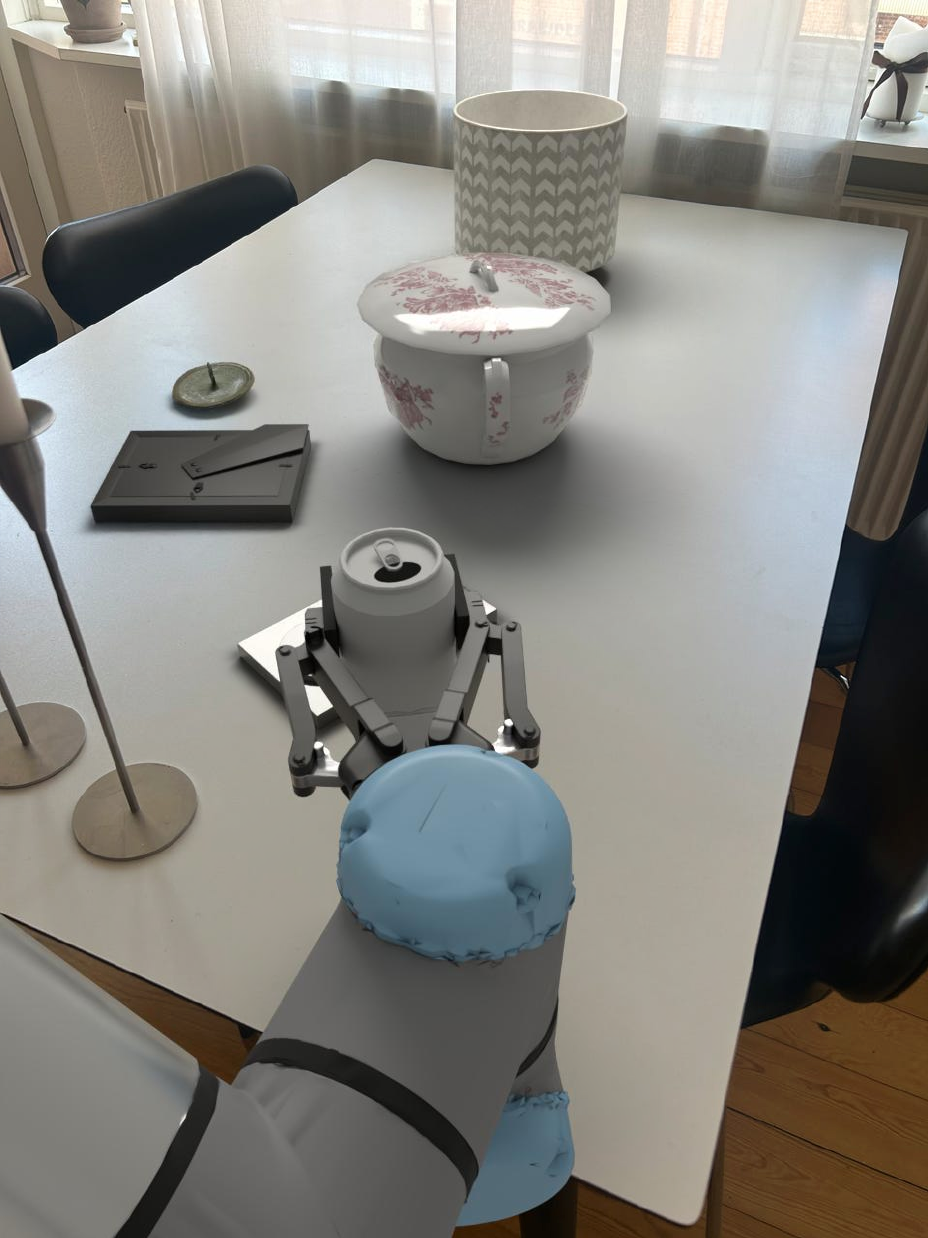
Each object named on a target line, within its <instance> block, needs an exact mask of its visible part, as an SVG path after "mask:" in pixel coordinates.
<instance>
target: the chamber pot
mask: <svg viewBox="0 0 928 1238" xmlns="http://www.w3.org/2000/svg"><path fill="white" fill-rule="evenodd" d="M611 303H612V302H611V295H610V293H609V292H608V291H607V290H606V289H605V288H604V287H603V286H602V284H601V283H600V282H599V281H598V280H597V279H596V278H595V277H593V276H591V275H589V274H588V273H587V272H585V273H584V272H582V271H580V270H578V269H576V268H574V267H572V266H568V265H565V264H562V263H558V262H555V261H551V260H548V259H545V258H538V257H531V256H524V255H517V254H511V253H464V254H456V253H455V254H443V255H437V256H432V257H428V258H423V259H418V260H413V261H409V262H406V263H404V264H401V265H398V266H396V267H394V268H391V269H388V270H385V271H383V272H382V273H381V274H379V275H377V276H376V277H375V278H374V279H373V280H371V281H370V282H369V283H367V284H366V285H365V286H364V287H363V289H362V291H361V293H360V295H359V297H358V300H357V302H356V306H357V307H356V308H357V309H358V312H359V315H360V318H361V321H363V322H364V323H365V324H366V325H368V326H369V327H371V328H372V329H373V330H374V331H375V332H376V333H377V334H376V337H375V340H374V342H373V358H374V367H375V370H376V374H377V377H378V378H377V379H378V381H379V384H380V388H381V392H382V396H383V398H384V400H385V401H384V402H385V404H386V406H387V409H388V412H389V413H390V414H391V415H392V416H393V418H394V419H395V421H396V422H397V423H398V424H399V425H400V427H401V429H403V431H404V432H405V433H406V434H407V436H408V437H409V438H410V439H412V441H414V442H415V444H417V445H418V446H419V447H420V448H422V449H423V450H424V451H425V452H428V453H429V454H432V455H434V456H437V457H438V458H440V459H443V460H446V461H447V460H448V461H451V462H455V463H461V464H465V465H484V466H485V465H489V466H490V465H499V464H506V463H513V462H516V461H520V460H522V459H525V458H529V457H532V456H534V455H535V454H537V453H539V452H540V451H542V450H543V449H545V448H546V447H548V446H549V445H550V444H552V443H554V441H555V440H556V439H557V437H558V436H559V435H560V433H562V431H563V430H564V428H566V426H567V425H568V424H569V422H570V421H572V419H573V417H574V416H575V415H576V413H577V412H578V410H579V409H580V407H581V406H582V405H583V402H584V399H585V396H586V393H587V389H588V386H589V383H590V380H591V376H592V374H593V373H592V372H593V361H594V336H593V334H592V332H594V331H596V330H597V329H600V327H601V326H602V324H603V323H604V322H605V320H606V319H607V318H608V317H609V315H610V314H611V313H612V304H611Z"/></svg>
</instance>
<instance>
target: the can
mask: <svg viewBox="0 0 928 1238" xmlns="http://www.w3.org/2000/svg"><path fill="white" fill-rule="evenodd" d="M444 555H445V554H444V552H443V549H442V547H441V545H440V544H439V542H437V541H436V540H435V539H434V538H433V536H432V537H431V536H430V535H428V534H426V533H423V532H421V531H420V530H415V529H411V528H406V527H384V528H378V529H372V530H370V531H367V532H365V533H362V534H359V535H358V536H356V537H355V538H353V539H352V540H350V541H349V542H348V543H347V544H346V545H345V546H344V548H343V549H342V550H341V552H340V555H339V560H338V564H337V565H336V566H335V567H334V568H333V570H332V578H331V587H332V595H333V603H334V611H335V617H336V625H337V634H338V642H339V652H340V659H341V661H342V662H343V663H344V665H345V666H346V668H347V669H348V670H349V672H350V673H351V674H352V676H353V677H354V678H355V680H356V681H357V682H358V684H359V685H360V687H361V688H362V689H363V691H364V692H365V693H366V695H367V696H368V697H369V698H373V699H374V700H375V701H376V703H377V704H378V705H379V707H380V708H381V710H382V711H383V712H393V711H402V712H413V711H416V710H419V709H422V708H428V707H437V706H439V703H440V700H441V697H442V695H443V692H444V690H445V689H447V688H448V685H449V682H450V679H451V676H452V673H453V671H454V668H455V665H456V662H457V650H456V649H457V648H456V647H457V646H456V640H455V578H454V571H453V568H452V566H451V563H450V561H449V560H448V559H446V558H445V557H444Z"/></svg>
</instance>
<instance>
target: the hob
mask: <svg viewBox="0 0 928 1238" xmlns="http://www.w3.org/2000/svg"><path fill="white" fill-rule="evenodd" d="M462 586H463V590H464V592H470V591H471V590H470V589H468V588H467V587H466V586H464V585H462ZM482 600H483V604H484V608H485V611H486V615H487V619H488V620H489V622H491V623H492V624H495V623H496V622H498V608H496V607H495V606H494V605H492V604H491V603H489V602H487V600H484V599H483V598H482ZM316 607H322V598H321V599H319V600H317V601H315V602H314V603H312V604H309V605H308V606H306V607H304V608H302V609H301V610H298V611H296V612H295V613H293V614H291V615H289V616H287V617H285V618H283V619H281V620H279V621H277V622H276V623H274V624H272V625H269V626H268V627H265V628H264V629H262V630H260V631H258V632H256V633H255V634H252V635H251V636H249V637H247V638H244V639H243V640H241V641H239V642H237V644H236V645H237V649H238V650H237V651H238V654H239V657H240V658H242V660H243V661H244V662H245V663H246V664H248V665H249V666H250V667H251V668H252V669H253V670H254V671H255V672H256V673H257V674H258V675H260V676H261V677H262V678H263V679H264V680H265V681H266V682H267V683H268V684H270V685H271V686H272V687H273V689H275V690H276V691H277V692H278V694H281V696H283V692H282V687H281V683H280V678H279V672H278V666H277V661H276V655H275V651H276V649H277V648H278V647H280V646H282V645H291V646H293V647H294V648H295V647H298V646H300V645H302V644H303V643H304V642H305V637H304V630H305V612H306V610H307V609H308V608H316ZM455 640H456V638H455ZM456 647H457V642H456ZM303 681H304V685H305V689H306V693H307V697H308V701H309V705H310V709H311V713H312V716H313V720H314V724H315V728H317V729H318V730H320V729H322V728H324V727H325V726H326V725H328V724H330V723H332V722H333V721H335V720H336V719H338V718H341V717H340V716H339V714H338V713H337V711H336V710H335V709H334V707H333V706H332V704H331V703H330V701H329V700H328V698H327V697H326V696H325V694H324V693H323V691H322V690H321V688H320V687H319V685H318V684H317V682H316V681H315V680H314V678H313V677H312V675H311V674H310V675H308V676H305V677H303Z"/></svg>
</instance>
